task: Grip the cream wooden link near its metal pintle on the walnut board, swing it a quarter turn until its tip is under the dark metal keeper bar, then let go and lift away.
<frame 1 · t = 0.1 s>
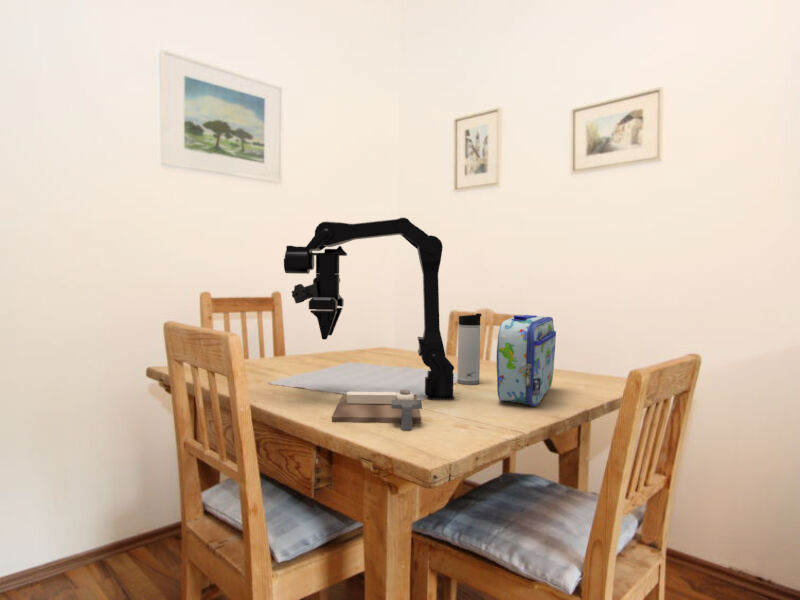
hand: (327, 337, 121), 15 cm above the table, tool pointing down, fingers open, 9 cm apart
cream link: (380, 397, 111), point 2 cm above the table, hinge at 0.0°
walnut board: (378, 409, 110), on the table
travel mug: (468, 383, 140), on the table
metal keeper: (406, 424, 98), on the table
lunch box: (526, 398, 124), on the table
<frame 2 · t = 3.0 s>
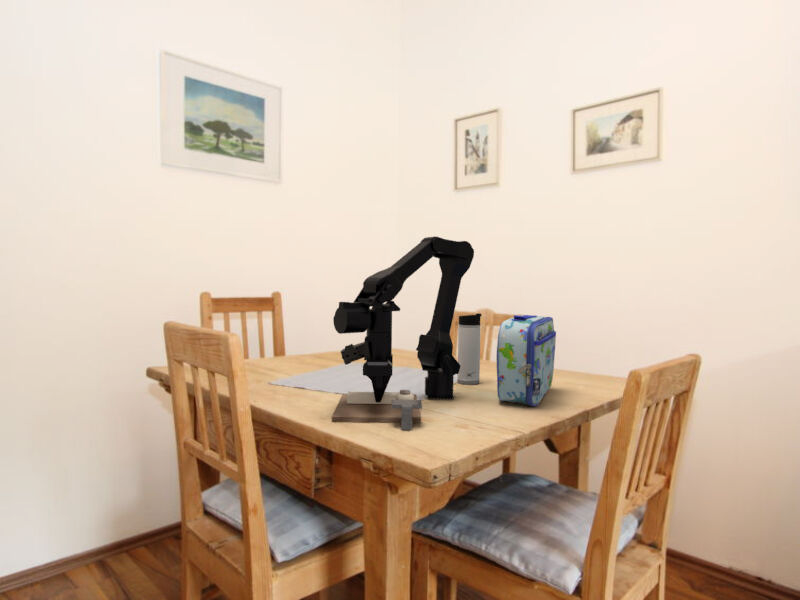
hand: (378, 400, 111), 2 cm above the table, tool pointing down, fingers closed on cream link, 3 cm apart
cream link: (380, 397, 111), point 2 cm above the table, hinge at 0.0°, touching gripper
everything else where it was.
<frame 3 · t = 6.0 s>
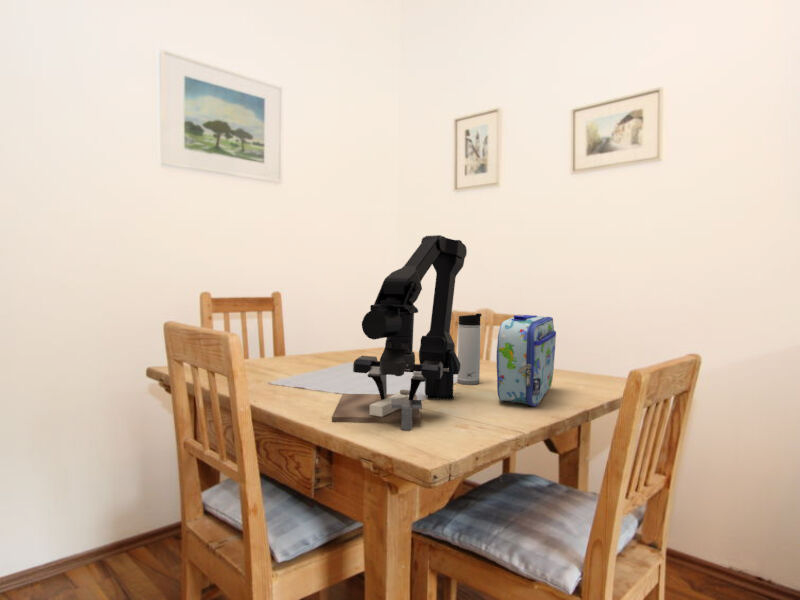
hand: (396, 406, 106), 2 cm above the table, tool pointing down, fingers open, 5 cm apart
cream link: (393, 403, 106), point 2 cm above the table, hinge at 61.8°, touching gripper
everything else where it was.
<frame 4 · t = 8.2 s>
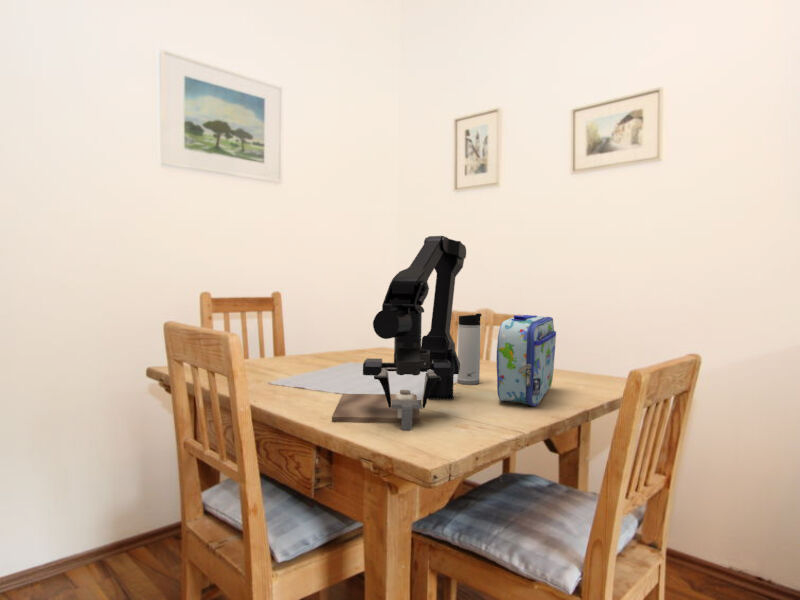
hand: (406, 407, 105), 2 cm above the table, tool pointing down, fingers open, 7 cm apart
cream link: (404, 404, 106), point 2 cm above the table, hinge at 88.7°
everything else where it was.
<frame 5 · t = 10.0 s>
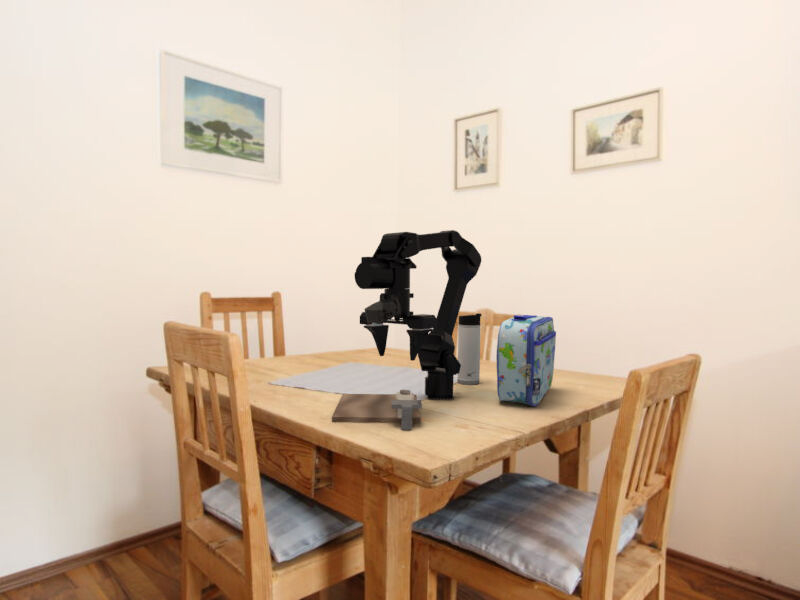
hand: (396, 358, 111), 11 cm above the table, tool pointing down, fingers open, 9 cm apart
nothing on the table moved.
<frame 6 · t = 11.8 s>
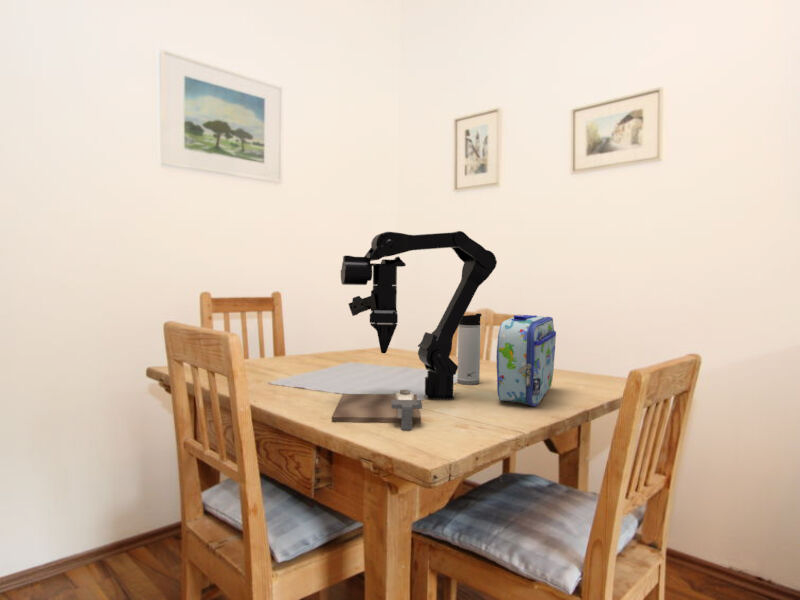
hand: (383, 350, 118), 12 cm above the table, tool pointing down, fingers open, 9 cm apart
nothing on the table moved.
at the end: cream link at +89° (first picture: +0°); the gripper is holding nothing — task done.
